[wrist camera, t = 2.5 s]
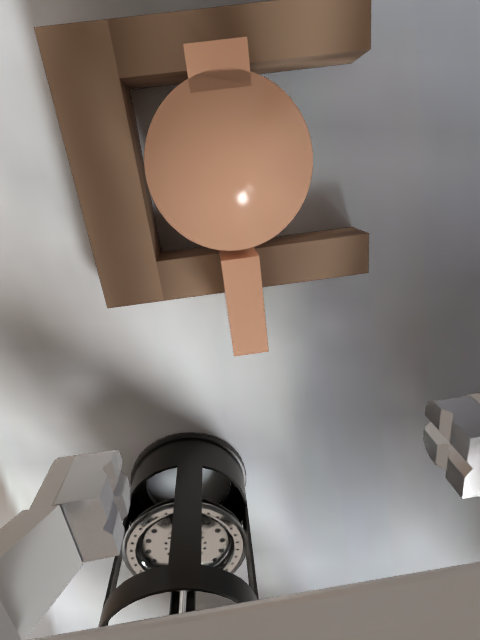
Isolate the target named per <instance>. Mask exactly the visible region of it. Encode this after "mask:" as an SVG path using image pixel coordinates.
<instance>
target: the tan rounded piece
mask: <svg viewBox="0 0 480 640" xmlns="http://www.w3.org/2000/svg"><path fill="white" fill-rule="evenodd" d="M183 46H184V53H185V60H186V67H187V74H188V79H187V80H185V81H184V82H182V83H181V84H180V85H178V86H177V87H176V88H174V89H173V90H172V91H171V92H170V93H169V94H168V95H167V96H166V98H165V99H164V100H163V102H162V103H161V104H160V106H159V107H158V109H157V111H156V113H155V115H154V116H153V119H152V121H151V124H150V126H149V129H148V133H147V137H146V141H145V150H144V167H145V175H146V180H147V184H148V188H149V191H150V193H151V196H152V198H153V201H154V202H155V204H156V206H157V208H158V210H159V211H160V213H161V214H162V215H163V217H164V218H165V219H166V221H167V222H168V223H169V224H170V225H171V226H172V227H173V228H174V229H175V230H176V231H178V232H179V233H180V234H181V235H183V236H184V237H186V238H187V239H189V240H190V241H193V242H195V243H197V244H199V245H201V246H204V247H207V248H211V249H216V250H219V253H220V261H221V268H222V275H223V283H224V290H225V297H226V304H227V312H228V319H229V326H230V333H231V340H232V346H233V353H234V356H240V355H247V354H254V353H261V352H268V351H269V350H268V340H267V330H266V319H265V309H264V299H263V289H262V279H261V269H260V259H259V255H258V253H257V252H256V250H255V248H254V247H255V246H257V245H260V244H262V243H264V242H266V241H268V240H270V239H271V238H273V237H274V236H276V235H277V234H279V233H280V232H281V231H282V230H283V229H284V228H286V227H287V225H288V224H289V223H290V222H291V221H292V220H293V219H294V217H295V216H296V214H297V213H298V211H299V210H300V208H301V206H302V204H303V202H304V200H305V198H306V195H307V193H308V190H309V186H310V182H311V177H312V170H313V151H312V143H311V139H310V134H309V131H308V128H307V125H306V123H305V120H304V118H303V116H302V114H301V112H300V110H299V109H298V108H297V106H296V105H295V103H294V102H293V100H292V99H291V98H290V97H289V96H288V95H287V94H286V93H285V91H283V90H282V89H281V88H280V87H279V86H277V85H276V84H275V83H273V82H272V81H270V80H269V79H267V78H265V77H263V76H261V75H259V74H256V73H254V72H250V63H249V52H248V41H247V37H239V38H230V39H222V40H213V41H204V42H195V43H187V44H183Z"/></svg>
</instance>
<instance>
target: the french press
mask: <svg viewBox="0 0 480 640" xmlns="http://www.w3.org/2000/svg"><path fill="white" fill-rule="evenodd" d="M172 468H177V477H176V488H175V498H173V499H169V500H166V501H163V502H160V503H157V502H156V501H155V500H154V499H153V497H152V496H151V494H150V493H149V490H148V487H147V479H149V478H150V477H152V476H154V475H155V474H157V473H160V472H162V471H165V470H168V469H172ZM202 468H206V469H210V470H213V471H216V472H218V473H220V474H222V475H224V476H225V477H227V478H228V479H230V480H231V483H230V488H229V490H228V492H227V494H226V495H225V496H224V498H223V499H222V500H221V501H220V502H218V503H215V502H213V501H210V500H207V499H203V498H202ZM245 485H246V471H245V467H244V463H243V462H242V460H241V458H240V456H239V454H238V453H237V452H236V451H235V450H234V449H233V448H232V447H231V446H230V445H228V444H227V443H226V442H224V441H222V440H220V439H218V438H216V437H213V436H210V435H206V434H200V433H179V434H175V435H171V436H167V437H165V438H162V439H160V440H158V441H156V442H155V443H153V444H151V445H150V446H149V447H147V448H146V449H145V450H144V451H143V452H142V453H141V455H140V456H139V458H138V459H137V460H136V462H135V465H134V467H133V470H132V474H131V490H130V507H129V512H128V515H127V516H126V517H125V518H124V520H123V526H124V529H125V531H124V536H123V540H122V545H121V549H120V554H119V555H118V556H115V558H114V563H113V567H112V571H111V575H110V580H109V584H108V588H107V592H106V597H105V601H104V605H103V610H102V614H101V618H100V622H99V627H104V626H108V622H109V620H110V619H111V617H113V616H114V615H115V614H116V613H117V612H119V611H120V610H121V609H122V608H124V607H126V606H128V605H129V604H131V603H133V602H135V601H137V600H140V599H143V598H145V597H148V596H151V595H155V594H160V593H164V592H171V600H170V612H169V615H173V614H179V613H185V612H191V611H195V598H196V591H202V592H207V593H213V594H217V595H220V596H223V597H226V598H229V599H231V600H233V601H234V602H236V603H243V602H249V601H254V600H259V599H258V591H257V583H256V575H255V566H254V558H253V550H252V542H251V534H250V525H249V517H248V509H247V501H246V493H245ZM129 524H130V528H129ZM242 524H243V527H242ZM245 556H246V560H247V570H248V579H249V585H248V584H247V583H246V582H244V581H243V580H242V579H241V578H239V577H237V576H236V575H234V574H233V573H234V572H235V571H236V570H237V569H238V568H239V567H240V565H241V564H242V562H243V560H244V558H245ZM122 557H123V559H124V562H125V564H126V566H127V568H128V569H129V570H130V571H131V572H132V574H133V575H134V576H133V577H131V578H129V579H128V580H126V581H124V582H123V583H122V584H121V585H120V586H118V587H117V588H116V585H117V580H118V576H119V571H120V566H121V562H122Z"/></svg>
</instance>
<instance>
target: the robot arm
mask: <svg viewBox="0 0 480 640" xmlns="http://www.w3.org/2000/svg"><path fill="white" fill-rule="evenodd" d="M425 415H426V417H427V418H428V419H429V420H430V422H429V423H428V424H427V426H426V427H425V428H424V443H425V447H426V450H427V452H428V454H429V456H430V458H431V459H432V461H433V462H434V463H435V465H437V466H439V467H441V468H443V469H445V470H447V471H446V479H447V480H448V481H449V483H450V484H451V485H452V486H453V488H454V489H455V490H456V491H457V493H458V494H459V495H460V496H461V498H462V499H463V498H470V497H478V496H480V393H475V394H470V395H465V396H462V397H455V398H449V399H443V400H437V401H430V402H428V404H427V406H426V410H425ZM122 464H123V461H122V458H121V455H120V452H119V451H118V450H110V451H103V452H95V453H88V454H80V455H74V456H67V457H60V458H57V459H56V460H55V461H54V462H53V464H52V465H51V467H50V469H49V471H48V473H47V475H46V477H45V479H44V481H43V483H42V485H41V487H40V489H39V491H38V493H37V495H36V497H35V499H34V501H33V503H32V505H31V507H30V509H29V510H24V511H22V512H20V513H19V514H18V515H17V516H16V517H14V518H13V519H12V520H11V521H10V522H8V523H7V524H6V525H5V526H4V527H2V528H1V529H0V640H26V639H27V637H28V636H29V635H30V633H31V632H32V631H33V629H34V628H35V627H36V625H37V624H38V623H39V621H40V620H41V619H42V618H43V616H44V615H45V614H46V612H47V611H48V610H49V608H50V607H51V606H52V604H53V603H54V602H55V601H56V599H57V598H58V597H59V595H60V594H61V593H62V591H63V590H64V589H65V587H66V586H67V585H68V583H69V582H70V581H71V580H72V578H73V577H74V576H75V574H76V573H77V572H78V570H79V569H80V568H81V566H82V565H83V563H82V562H87V561H92V560H97V559H103V558H108V557H113V556H118V555H119V554H120V549H121V545H122V540H123V536H124V531H125V529H124V526H123V523H122V520H123V519H124V518H125V517H126V516H127V515H128V512H129V507H130V486H129V481H128V477H127V475H126V474H124V473H123V472H122V471H121V467H122ZM29 640H480V562H475V563H469V564H463V565H457V566H451V567H446V568H440V569H434V570H428V571H422V572H417V573H411V574H405V575H399V576H393V577H388V578H382V579H376V580H370V581H364V582H359V583H353V584H347V585H341V586H335V587H330V588H324V589H318V590H312V591H307V592H301V593H295V594H289V595H283V596H278V597H272V598H266V599H260V600H254V601H249V602H243V603H237V604H231V605H225V606H220V607H214V608H208V609H202V610H196V611H191V612H185V613H179V614H173V615H168V616H162V617H156V618H150V619H144V620H139V621H133V622H127V623H121V624H115V625H110V626H104V627H98V628H92V629H87V630H81V631H75V632H69V633H64V634H58V635H52V636H47V637H41V638H35V639H29Z"/></svg>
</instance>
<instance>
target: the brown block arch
mask: <svg viewBox="0 0 480 640" xmlns="http://www.w3.org/2000/svg"><path fill="white" fill-rule="evenodd" d="M34 30H35V34H36V38H37V41H38V45H39V49H40V53H41V57H42V60H43V64H44V68H45V72H46V76H47V80H48V83H49V87H50V91H51V95H52V99H53V102H54V106H55V110H56V114H57V118H58V122H59V125H60V129H61V133H62V137H63V141H64V144H65V148H66V152H67V156H68V160H69V164H70V167H71V171H72V175H73V179H74V183H75V186H76V190H77V194H78V198H79V202H80V206H81V209H82V213H83V217H84V221H85V225H86V228H87V232H88V236H89V240H90V244H91V248H92V251H93V255H94V259H95V263H96V267H97V270H98V274H99V278H100V282H101V286H102V290H103V293H104V297H105V301H106V305H107V308H114V307H121V306H129V305H136V304H143V303H151V302H158V301H165V300H173V299H180V298H187V297H195V296H202V295H209V294H217V293H224V292H225V290H224V283H223V275H222V268H221V261H220V253H219V250H216V249H211V248H207V247H204V246H203V247H196V248H188V249H181V250H173V251H165V252H161V248H160V243H159V238H158V233H157V227H156V222H155V217H154V212H153V207H152V202H151V197H150V191H149V188H148V184H147V180H146V175H145V167H144V161H143V155H142V150H141V145H140V140H139V135H138V130H137V125H136V119H135V114H134V109H133V104H132V99H131V94H130V89H137V88H145V87H154V86H162V85H171V84H179V83H182V82H184V81H185V80H187V79H188V74H187V67H186V60H185V53H184V46H183V44H187V43H195V42H204V41H213V40H222V39H230V38H239V37H247V41H248V52H249V63H250V72H254V73H256V74H264V73H273V72H281V71H290V70H298V69H307V68H315V67H324V66H332V65H341V64H349V63H352V62H354V61H355V60H356V59H358V58H359V57H360V56H362V55H363V54H365V53H366V52H367V51H369V50H370V49H371V0H274V1H265V2H256V3H247V4H238V5H229V6H220V7H211V8H202V9H193V10H184V11H175V12H166V13H157V14H148V15H140V16H131V17H122V18H113V19H104V20H95V21H86V22H77V23H68V24H59V25H50V26H41V27H34ZM254 248H255V250H256V252H257V253H258V255H259V259H260V269H261V279H262V287H268V286H275V285H283V284H290V283H297V282H305V281H312V280H319V279H327V278H334V277H341V276H349V275H356V274H363V273H368V271H369V233H366V232H364V231H361V230H359V229H356V228H354V227H347V228H339V229H332V230H324V231H317V232H309V233H302V234H294V235H287V236H279V237H273V238H271V239H270V240H268V241H266V242H264V243H262V244H260V245H257V246H255V247H254Z"/></svg>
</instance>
